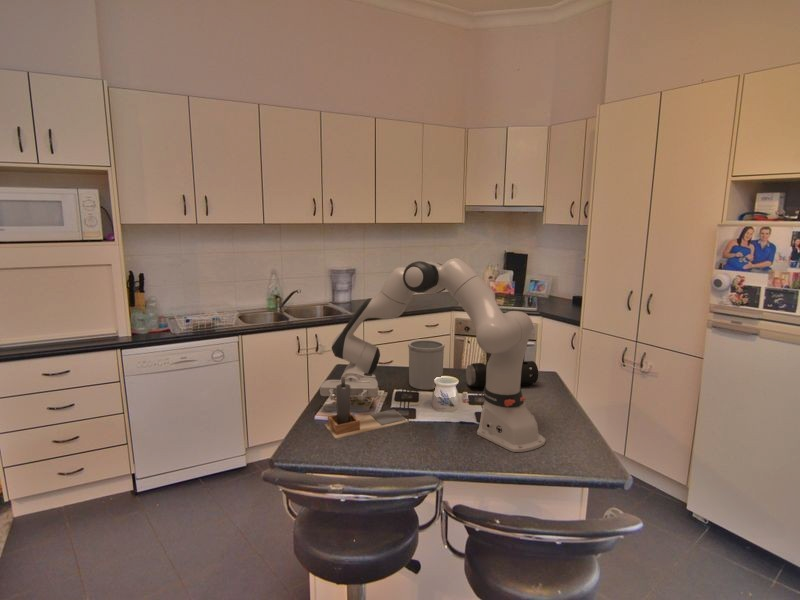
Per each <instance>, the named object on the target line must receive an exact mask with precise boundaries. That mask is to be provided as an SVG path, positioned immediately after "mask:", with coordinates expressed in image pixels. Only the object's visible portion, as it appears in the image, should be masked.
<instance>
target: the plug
mask: <svg viewBox="0 0 800 600" xmlns="http://www.w3.org/2000/svg"><path fill="white" fill-rule="evenodd" d="M340 379H341V384H340V385H337V386H336V392H337V396H336V415H337V424H338V425H339V424H344V423H348V422H351V415H350V412H351V397H350V385H348V384H345V377H342V376H341V377H340Z"/></svg>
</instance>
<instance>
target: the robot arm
mask: <svg viewBox="0 0 800 600" xmlns="http://www.w3.org/2000/svg"><path fill="white" fill-rule="evenodd" d="M445 290H446V291H448V292H449V293H450V295H451V296H452V297H453V298H454V300H455V301H456V302H457V303H458V304H459V306H460V307H461V308H462V309H463V310H464V311H465V313H466V314H467V315H468V317H469V319H470V320H471V322H472V324H473V326H474V329H475V332H476V333H475V336H476V337H475V339H476V343H477V345H478V347H479V348H480V349H481V350H482V351H484V352H485V353H487V354H491V355H490V357H489V358H488V361H487V362H486V364H487V369H486V386H485V387H484V388H483V399H484V402H483V405H482V408H481V414H480V420H479V424H478V429H477V430H476V435H478V436H480V437H481V438H484V439H486V440H487V441H490V442H492V443H494V444H496V445H497V446H499V447H502V448H504V449H506V450H508V451H510V452H513V453H514V452H515V453H523V452H528V451H529V452H530V451H533V450H537V449H539V448H542V447H543V445H545V444H546V441H547V440H546V438H545V437H544V436H542V435H541V433H539V427H538V423H537V421H536V417H535V415H533V414H531V412H530V411H529V409H528V407H526V405H525V403H524V402H525V401H526V400H527V399H526V398H527V397H526V396H523V393H522V389H521V385H520V384H521V370H522V364H523V361H524V359H525V355H526V352H527V351H526V350H527V347H528V342H529V339H530V337H531V334H532V332H533V330H534V329H533V328H534V323H533V320H532V319H531V317H530V315H528V314H527V313H525V312H523V311H521V310H520V311H519V310H510V311H507V312H503V311H502V310H501V308H500V306H499V305H498V302H497V300H496V294H495V292H494V290H492V288H491V287H490V286H489V285H488V284H487V283H486V282H485V281H484V279H483V278H482V277H481V276H480V275H479V274H478V272H476V271H475V270H474V269H473V268H472V267H471V266H470V265H469V264H467V263H466V262H464V261H463V260H462V259H461V258H457V257H455V258H451V259H448V260H447V261H445V262H444V263H443V264H442V263H437V262H434V261H421V260H420V261H418V260H417V261H415V262H412V263H410V264H408V265H407V266H406V267H404V266H398V267H397V268H394V270H392V272H391V274H390V275H389V276H388V277H387V279H386V280H385V282H384V284H383V285H382V288H381V289H380V291H379V293H378V294H377V295H376V296H374V297H373V298H371V297H369V298H367V299H366V300H364V302H363V303H362V304H361V305H360V307H359V308H358V309H357V310H356V312H355V313H354V314H353V315H352V317H351V318H350V319H349V321H348V322H347V324H346V325H345V327H344V328H343V329H342V331H341V332H340V333H338V334H337V335H336V337H335V338H334V339H333V341H332V342H331V343H332V344H331V351H332V353H333V356H334V357H336V358H338V359H341V360H345V361H347V362H349V363H348V364H347V365H346V367H345V368H344V371H343V373H342V375H341V377H345V384H348V385H350V398H353V397H354V398H357V397H358V399H357V400H358V401H363V400H364V399H365V398H376V397H378V396H379V382H378V380H377V377H376V374H373V373H374V372H375V370H376V369H377V367H378V364H379V361H380V358H381V352H380V349H379V347H378V346H376V345H374V344H373V343H370V342H368V341H365V340H364V339H361V338H359V337H357V336H356V335H355V334H354V333H355V332H357V330H358V329H359V327H360V326H361V324H362V323H363V322H364V321H365V320H367V319H382V320H383V319H384V320H391V319H392V320H393V319H396V318H399V317H400V316H401V315H403V313H404V312H405V310H406V309H407V307H408V305H409V303H410V301H411V299H412V297H413V296H414V294H415V293H417V294H427V295H428V294H429V295H431V294H438V293H442V292H444V291H445ZM340 384H341V378H340V379H326V380H324V381H323V382H322V383H321V385H320V386H319V394H320V396H322V397H329V399H330V400H335V399H336V397H337V392H336V386H337V385H340Z"/></svg>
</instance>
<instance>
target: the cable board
mask: <svg viewBox="0 0 800 600" xmlns="http://www.w3.org/2000/svg"><path fill="white" fill-rule="evenodd" d="M350 415H351V422H348V423H344V424H339V425H338V424H337V414H333V415H328V416H327V423H324V424H323V425H324V426H325V427H326V428H327V430H328V431H329V432H330V434H331V435H332V436H333V437H334V439H340V438H346V437H350V436H353V435H357V434H362V433H367V432H371V431H375V430H379V429H383V428H387V427H388V428H389V427H391V426H396V425H401V424H404V423H407V424H408V425H410V421H409V420H408V419H407V418H405V417H404V416H403V415H402V414H401V413H400V412H398V411H397V410H396V409H394V408H393V409H387V410H384V411H379V412H374V413H369V414H364V415H360V416H355V414H354V413H353V412H352V411H350Z"/></svg>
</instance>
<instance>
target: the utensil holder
mask: <svg viewBox="0 0 800 600" xmlns="http://www.w3.org/2000/svg"><path fill="white" fill-rule="evenodd" d="M407 345H408V346H407V347H408V377H409V378H408V381H409V386H410V387H412V388H414V389H417V390H425V391H427V390H428V391H429V390H430V391H431V390H435V389H434V388H435V384H434V379H435V378H436V377H441V376H444V353H445V352H444V351H445V343H444V342H443V341H441V340H437V339H433V338H432V339H429V338H422V339H421V338H420V339H418V338H417V339H413V340H410V341H409V342H408V344H407Z"/></svg>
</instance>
